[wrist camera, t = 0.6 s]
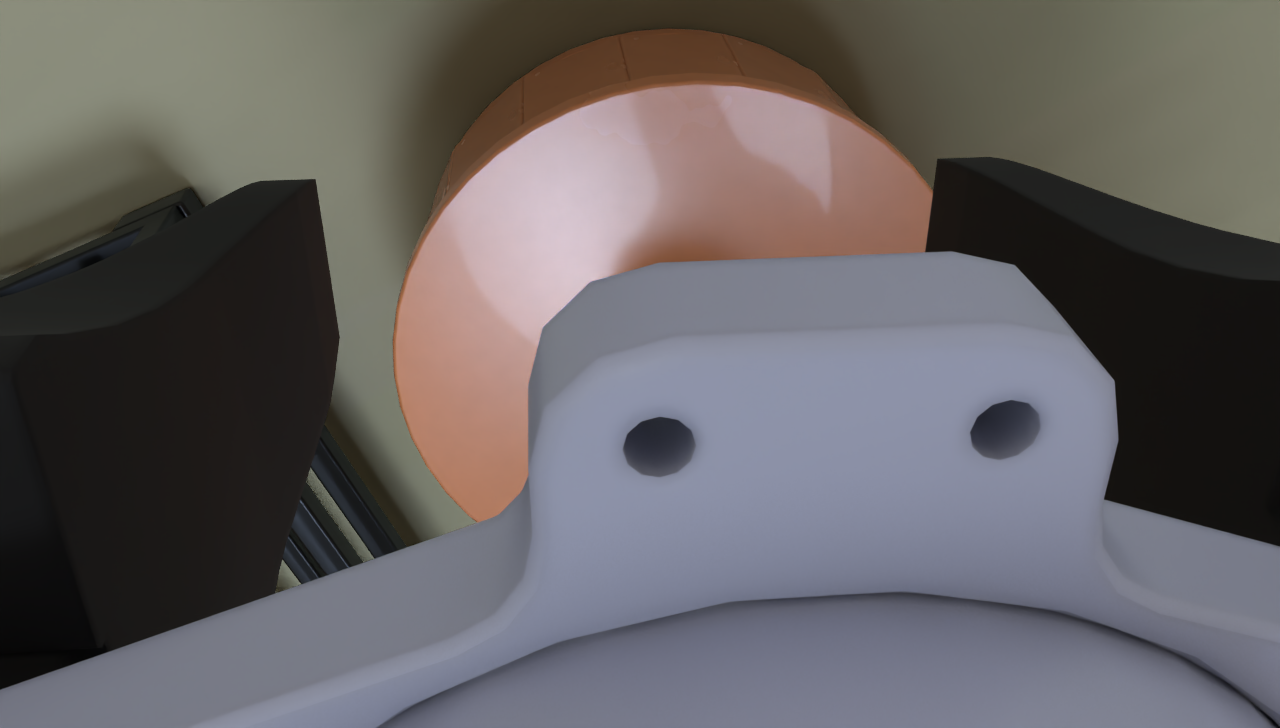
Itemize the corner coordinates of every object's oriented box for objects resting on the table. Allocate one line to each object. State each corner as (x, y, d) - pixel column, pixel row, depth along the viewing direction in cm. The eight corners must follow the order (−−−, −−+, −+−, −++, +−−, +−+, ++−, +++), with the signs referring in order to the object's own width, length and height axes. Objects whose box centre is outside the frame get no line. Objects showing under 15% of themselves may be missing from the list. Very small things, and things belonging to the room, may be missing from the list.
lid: (1008, 444, 24) (1103, 599, 20) (542, 616, 26) (545, 792, 22) (866, -42, 19) (957, 38, 15) (288, 206, 20) (230, 340, 16)
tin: (944, 360, 27) (1001, 455, 24) (546, 511, 28) (549, 621, 25) (813, -57, 22) (863, -9, 19) (337, 148, 23) (307, 228, 20)
